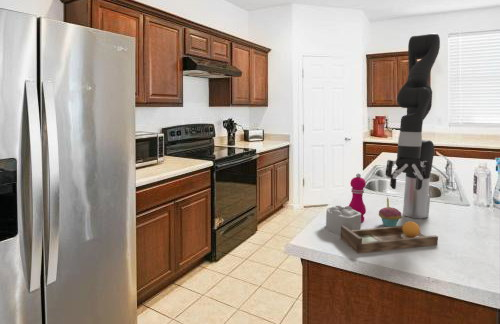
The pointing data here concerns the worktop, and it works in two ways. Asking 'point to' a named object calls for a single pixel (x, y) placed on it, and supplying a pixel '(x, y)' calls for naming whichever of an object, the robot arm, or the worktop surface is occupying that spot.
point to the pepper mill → (358, 195)
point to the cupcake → (389, 215)
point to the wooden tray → (383, 239)
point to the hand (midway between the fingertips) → (405, 189)
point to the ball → (411, 229)
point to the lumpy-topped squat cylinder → (342, 219)
